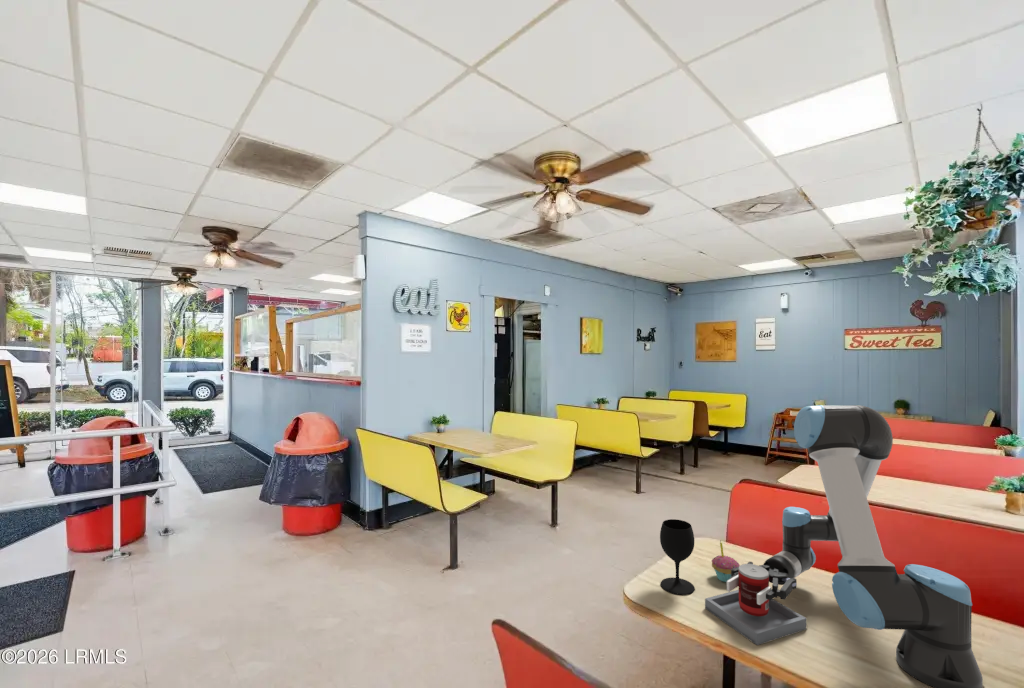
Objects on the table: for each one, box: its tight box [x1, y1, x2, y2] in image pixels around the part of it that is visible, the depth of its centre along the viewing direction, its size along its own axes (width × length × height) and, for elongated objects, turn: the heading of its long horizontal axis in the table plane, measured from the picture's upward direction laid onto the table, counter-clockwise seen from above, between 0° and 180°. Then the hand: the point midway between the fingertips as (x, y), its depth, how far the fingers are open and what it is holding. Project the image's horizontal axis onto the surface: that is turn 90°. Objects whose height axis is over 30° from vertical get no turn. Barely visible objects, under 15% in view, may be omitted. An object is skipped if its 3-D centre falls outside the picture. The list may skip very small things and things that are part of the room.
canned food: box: [738, 563, 770, 616], centre depth 133 cm, size 8×8×11 cm
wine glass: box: [659, 518, 696, 596], centre depth 151 cm, size 10×10×20 cm
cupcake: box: [711, 540, 741, 583], centre depth 155 cm, size 9×8×12 cm
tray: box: [704, 589, 807, 646], centre depth 133 cm, size 18×18×3 cm
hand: (742, 592), depth 130 cm, fingers closed on canned food, 8 cm apart
